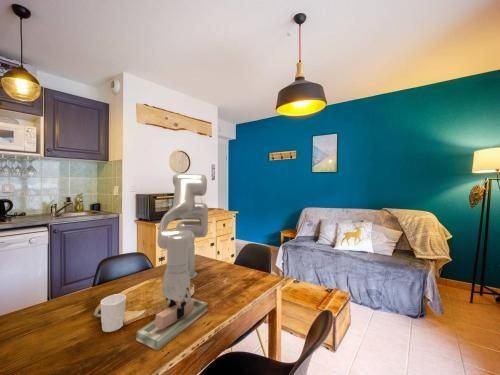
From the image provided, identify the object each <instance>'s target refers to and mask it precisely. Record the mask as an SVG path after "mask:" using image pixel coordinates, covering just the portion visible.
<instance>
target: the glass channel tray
mask: <svg viewBox="0 0 500 375" xmlns="http://www.w3.org/2000/svg"><path fill="white" fill-rule="evenodd" d="M191 300H192V301H194V305H193V312H191V313H189V314H188V315H186V316H184V317H183V318H181V319H179V320H177V321H176V322H174V323H172V324H170V325H169V326H167V327H165V328H163V329H160V328H157V327H155V319H154V320H152V321H151V322H149V323H147V324H146V325H144V326H143V327H141V328H140V329H139V330H137V331H136V334H135V335H136V338H135V340H136V341H137V342H138V343H141V344H143V345H145V346H147V347H149V348H151V349H153V350H155V351H157V352H158V351H159V350H161V349H162V348H163V347H165V345H167V344H168V343H169V342H171V340H173V339H174V338H175V337H177V336H178V335H179V334H180V333H182V332H183V331H184V330H186V329H187V328H188V327H189V326H190V325H191V324H193V323H194V322H195V321H197V319H199V318H200V317H201V316H202V315H204V314H205V313H207V311H208V310H209V303H208V302H205V301H202V300H199V299H196V298H193V297H191Z"/></svg>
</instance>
